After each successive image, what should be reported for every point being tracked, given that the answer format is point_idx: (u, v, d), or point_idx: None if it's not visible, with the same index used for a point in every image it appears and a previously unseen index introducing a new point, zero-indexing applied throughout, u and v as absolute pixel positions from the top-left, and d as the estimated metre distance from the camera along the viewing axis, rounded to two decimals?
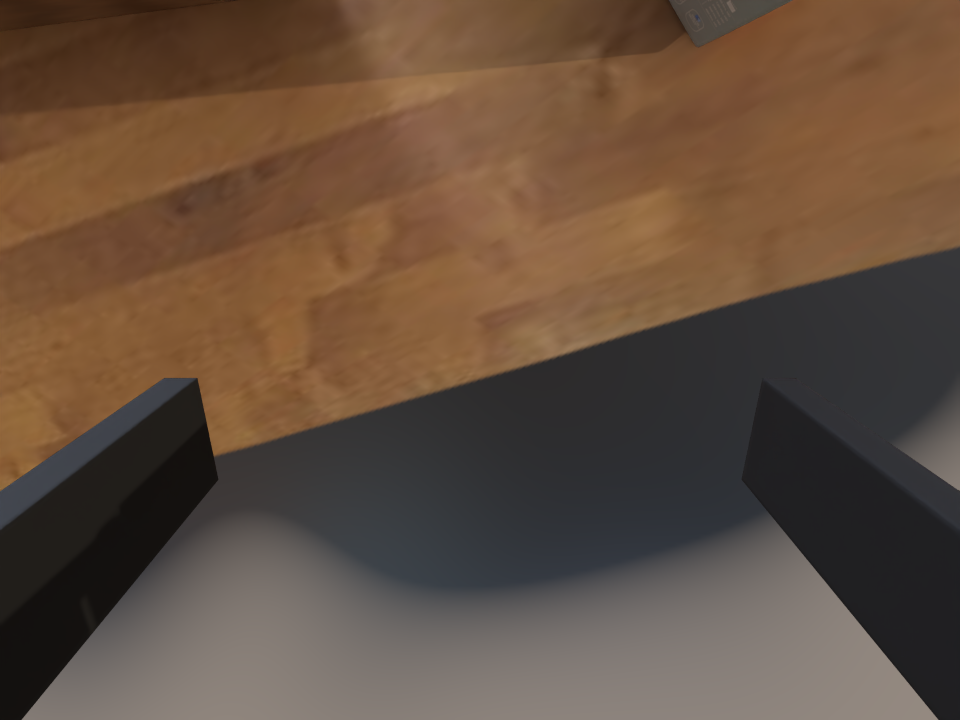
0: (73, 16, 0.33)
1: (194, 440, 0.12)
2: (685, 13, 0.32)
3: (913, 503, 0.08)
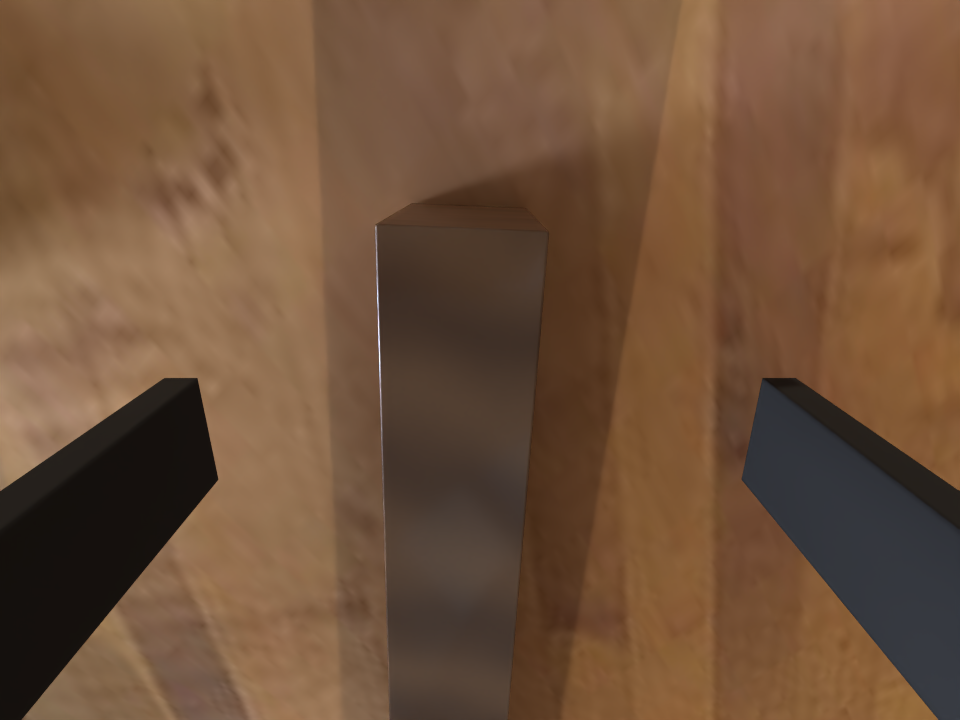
0: None
1: (194, 440, 0.12)
2: None
3: (913, 503, 0.08)
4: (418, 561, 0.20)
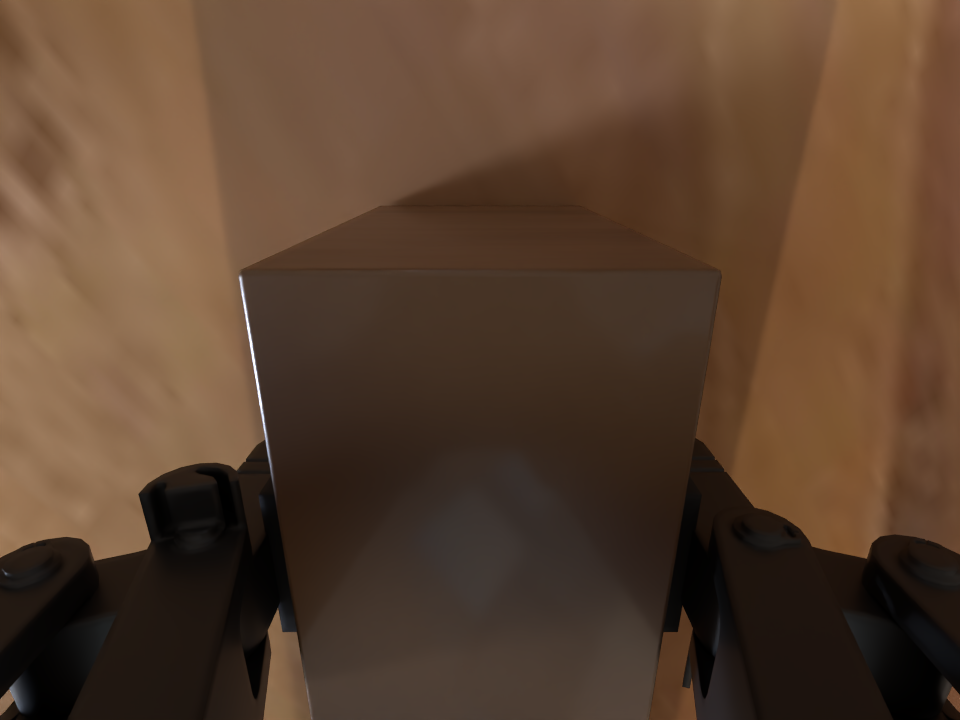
0: None
1: None
2: None
3: None
4: None
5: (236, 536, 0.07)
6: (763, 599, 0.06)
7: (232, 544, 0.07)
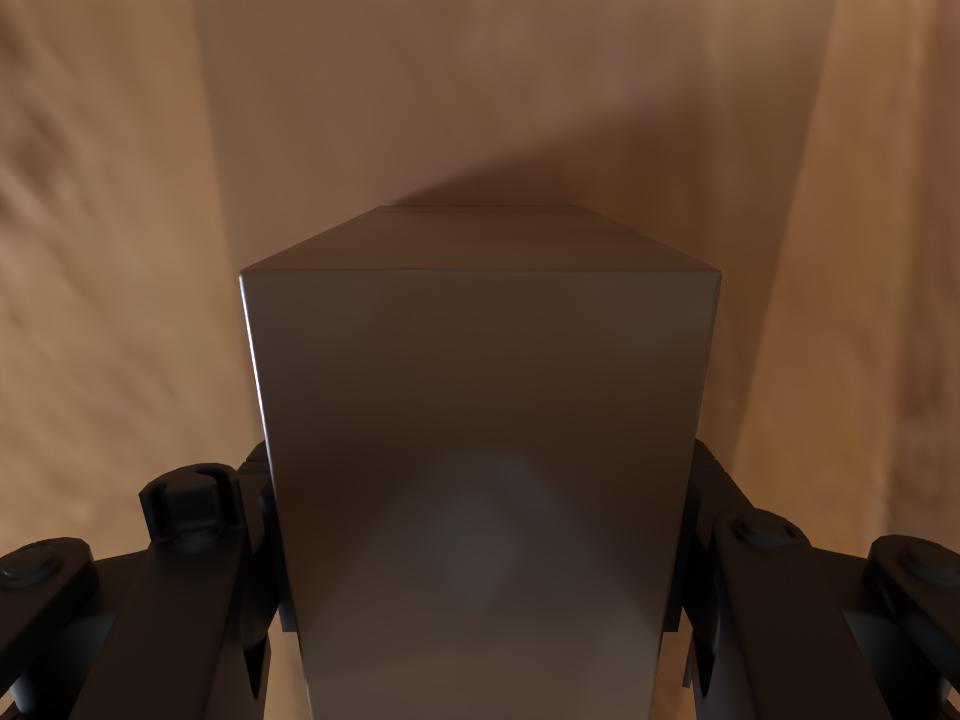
0: None
1: None
2: None
3: None
4: None
5: (236, 536, 0.07)
6: (763, 599, 0.06)
7: (232, 544, 0.07)
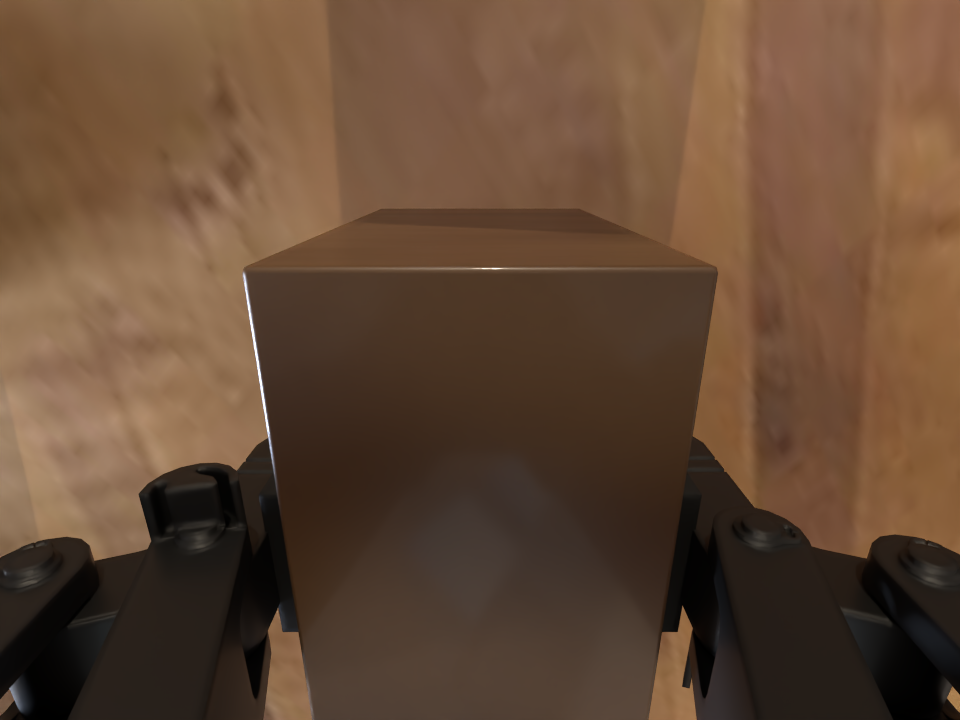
0: None
1: None
2: None
3: None
4: None
5: (236, 536, 0.07)
6: (763, 599, 0.06)
7: (232, 544, 0.07)
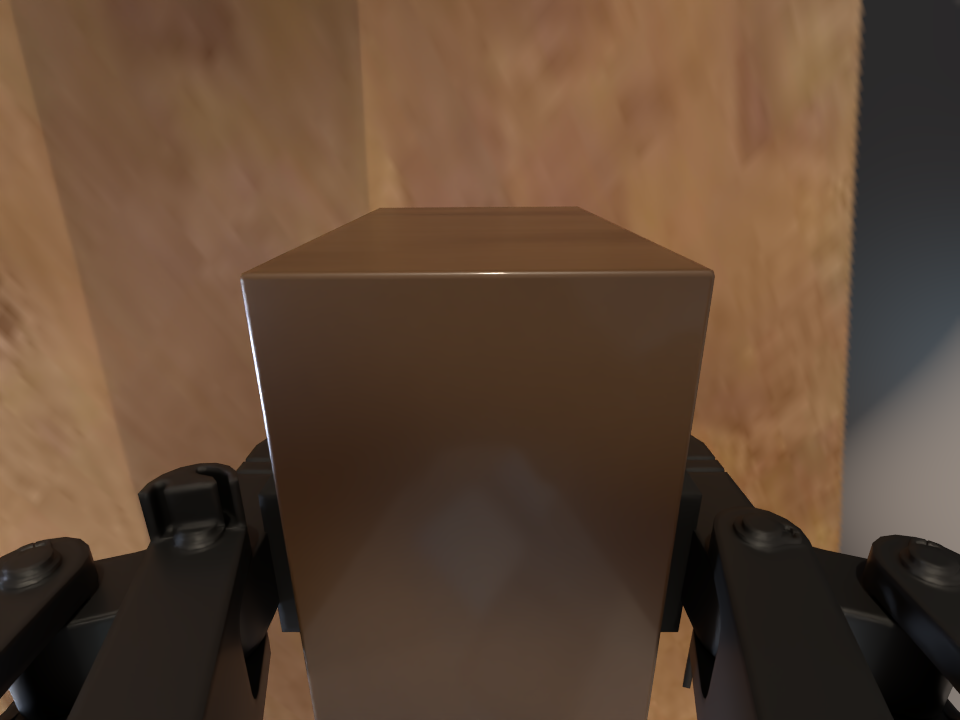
0: None
1: None
2: None
3: None
4: None
5: (236, 536, 0.07)
6: (764, 599, 0.06)
7: (232, 544, 0.07)
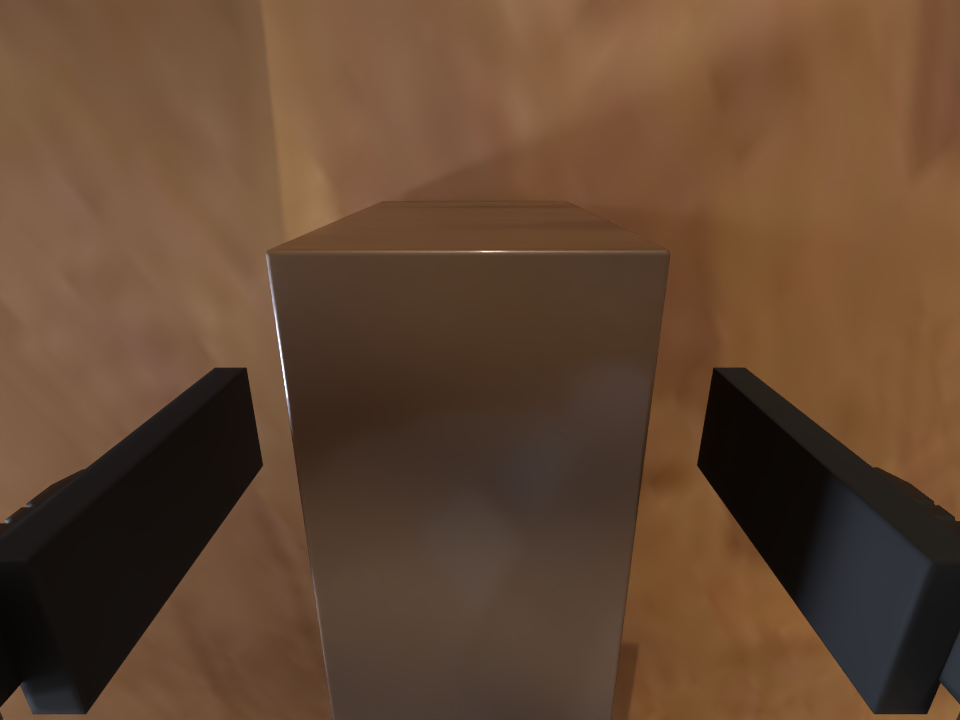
0: None
1: (244, 426, 0.12)
2: None
3: (829, 478, 0.08)
4: None
5: None
6: None
7: None
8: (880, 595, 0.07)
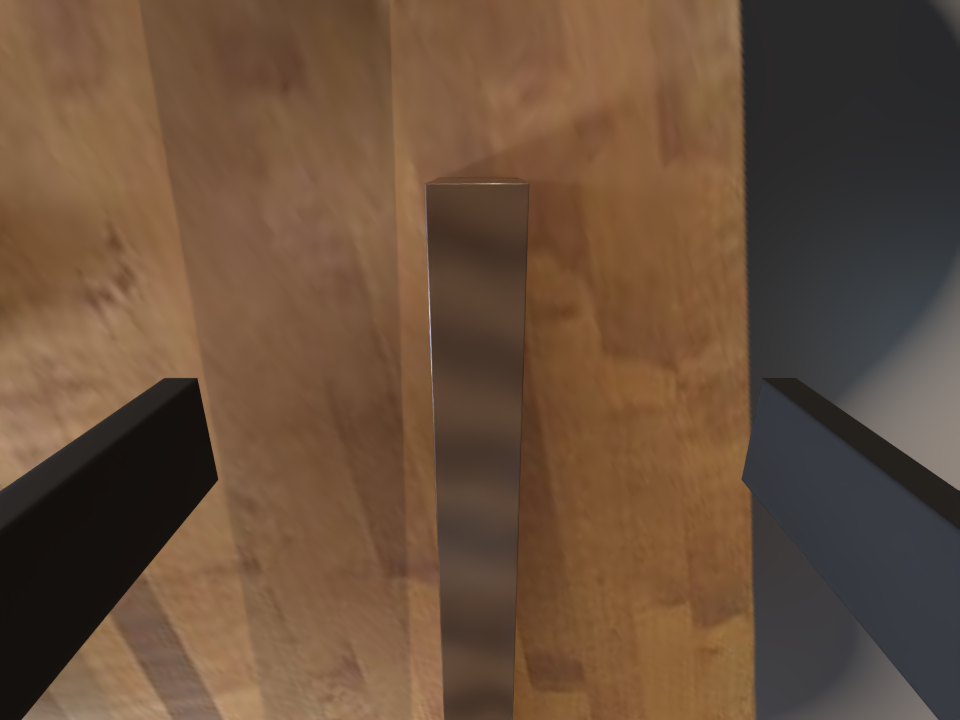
0: None
1: (194, 440, 0.12)
2: None
3: (913, 503, 0.08)
4: (454, 409, 0.30)
5: None
6: None
7: None
8: None
